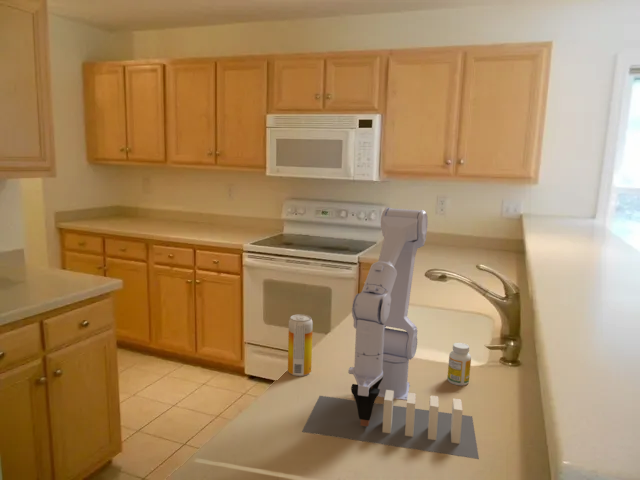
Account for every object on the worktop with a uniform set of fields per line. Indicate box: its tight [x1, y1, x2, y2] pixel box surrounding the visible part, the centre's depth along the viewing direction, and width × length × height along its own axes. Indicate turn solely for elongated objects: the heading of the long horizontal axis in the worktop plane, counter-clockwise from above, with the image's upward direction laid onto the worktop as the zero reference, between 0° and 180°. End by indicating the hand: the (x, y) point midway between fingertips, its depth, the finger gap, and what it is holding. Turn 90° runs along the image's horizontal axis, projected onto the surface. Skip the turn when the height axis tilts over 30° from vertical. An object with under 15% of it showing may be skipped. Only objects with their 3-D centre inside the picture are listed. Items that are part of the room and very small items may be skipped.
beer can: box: [287, 314, 314, 377], centre depth 125 cm, size 6×6×15 cm
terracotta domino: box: [360, 386, 372, 426], centre depth 101 cm, size 2×4×7 cm, turn 167°
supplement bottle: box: [447, 342, 472, 386], centre depth 123 cm, size 5×5×10 cm
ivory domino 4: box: [451, 397, 463, 444], centre depth 97 cm, size 2×4×7 cm, turn 167°
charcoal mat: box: [301, 395, 480, 460], centre depth 102 cm, size 16×34×1 cm, turn 77°
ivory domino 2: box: [405, 392, 417, 437], centre depth 99 cm, size 2×4×7 cm, turn 167°
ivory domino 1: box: [382, 390, 394, 433], centre depth 100 cm, size 2×4×7 cm, turn 167°
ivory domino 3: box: [428, 395, 440, 440], centre depth 98 cm, size 2×4×7 cm, turn 167°
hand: (366, 413), depth 101 cm, fingers closed on terracotta domino, 4 cm apart
